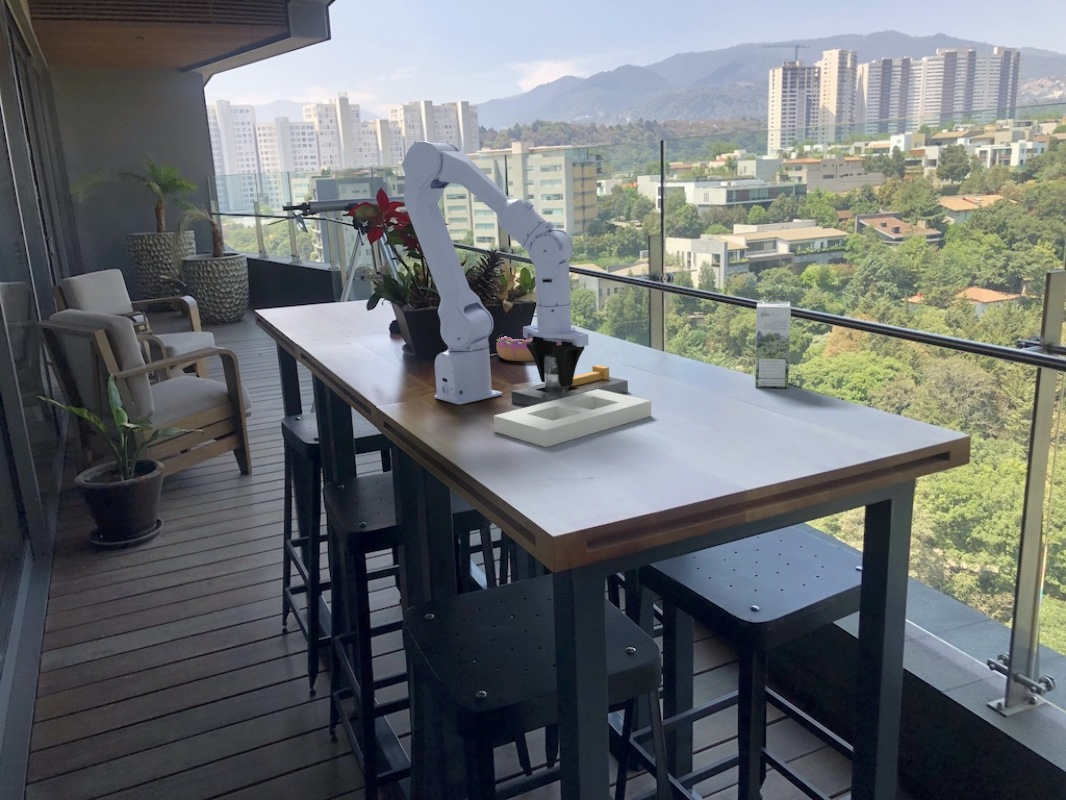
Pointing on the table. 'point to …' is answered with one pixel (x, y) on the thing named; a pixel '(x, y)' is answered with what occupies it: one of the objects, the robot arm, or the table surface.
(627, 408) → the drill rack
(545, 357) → the brushed steel cylinder
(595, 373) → the bar
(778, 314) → the syrup box
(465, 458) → the table surface
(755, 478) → the table surface
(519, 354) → the donut
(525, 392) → the dark grey socket tray
